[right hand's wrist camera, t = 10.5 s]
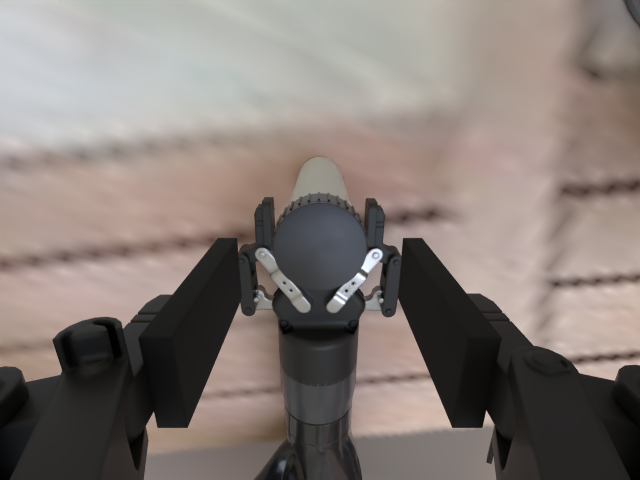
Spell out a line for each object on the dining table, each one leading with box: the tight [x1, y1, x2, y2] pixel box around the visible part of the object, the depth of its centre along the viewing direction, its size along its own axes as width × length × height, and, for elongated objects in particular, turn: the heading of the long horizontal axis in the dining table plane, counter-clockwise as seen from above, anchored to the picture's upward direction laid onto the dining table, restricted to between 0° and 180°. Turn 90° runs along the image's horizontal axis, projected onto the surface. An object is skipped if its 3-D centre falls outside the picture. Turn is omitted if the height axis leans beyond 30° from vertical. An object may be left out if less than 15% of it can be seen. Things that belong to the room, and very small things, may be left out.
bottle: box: [289, 157, 351, 205], centre depth 25 cm, size 4×4×18 cm
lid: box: [272, 192, 368, 291], centre depth 17 cm, size 5×5×2 cm
